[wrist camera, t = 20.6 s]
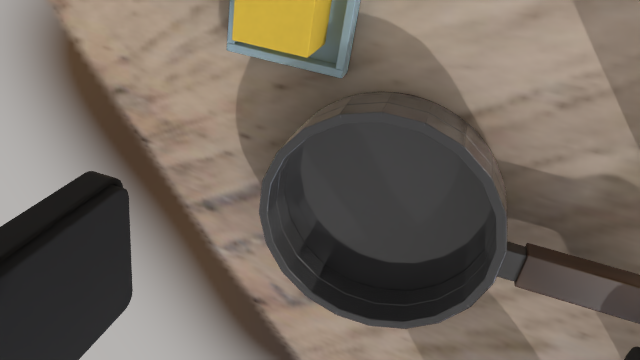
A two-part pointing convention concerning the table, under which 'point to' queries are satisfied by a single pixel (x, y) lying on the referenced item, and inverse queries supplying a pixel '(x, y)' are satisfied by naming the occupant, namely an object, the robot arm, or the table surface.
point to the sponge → (282, 24)
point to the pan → (386, 211)
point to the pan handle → (573, 280)
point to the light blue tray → (327, 57)
